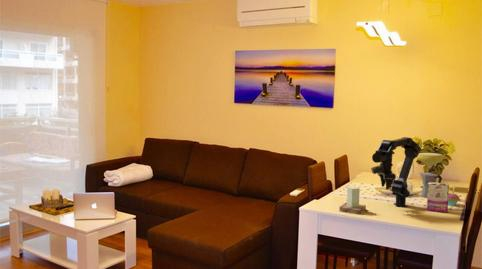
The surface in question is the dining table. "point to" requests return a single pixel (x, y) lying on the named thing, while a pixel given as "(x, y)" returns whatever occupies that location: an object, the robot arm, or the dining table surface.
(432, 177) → the coffeepot
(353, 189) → the sage block
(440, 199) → the candy bar box
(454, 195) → the cupcake
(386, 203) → the dining table surface
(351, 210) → the walnut base
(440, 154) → the cocktail glass
